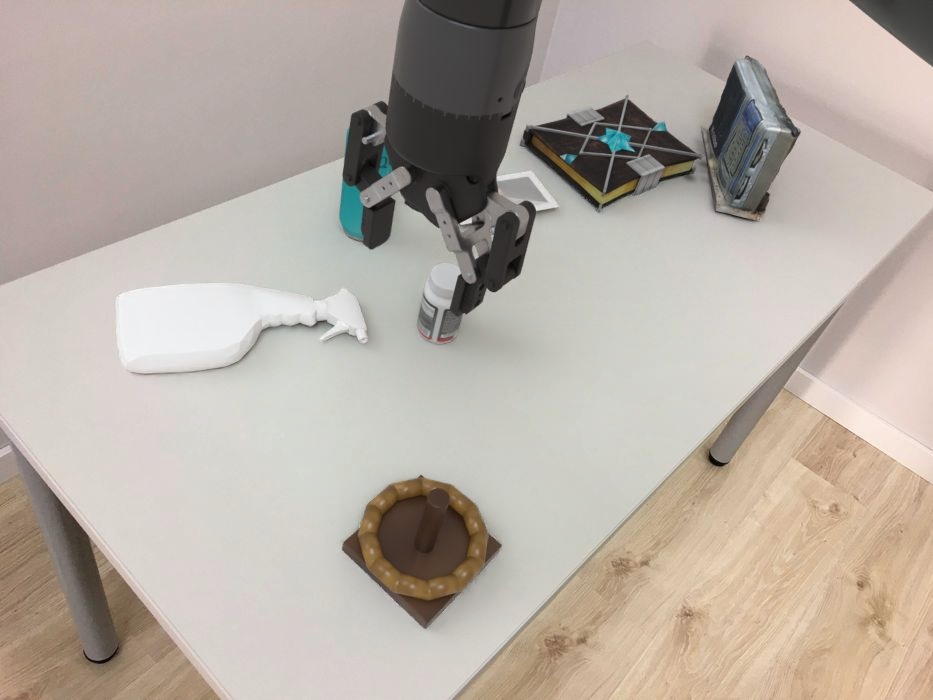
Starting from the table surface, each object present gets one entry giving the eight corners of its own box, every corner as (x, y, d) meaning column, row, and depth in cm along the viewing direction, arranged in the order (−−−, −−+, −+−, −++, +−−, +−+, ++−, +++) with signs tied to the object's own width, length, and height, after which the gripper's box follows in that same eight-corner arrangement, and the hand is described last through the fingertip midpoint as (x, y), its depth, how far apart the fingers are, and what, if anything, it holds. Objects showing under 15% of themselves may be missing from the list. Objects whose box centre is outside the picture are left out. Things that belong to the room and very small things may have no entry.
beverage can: (388, 245, 96) (404, 141, 85) (340, 245, 94) (350, 139, 83) (382, 214, 99) (396, 110, 88) (336, 213, 98) (345, 107, 87)
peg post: (498, 552, 72) (524, 500, 65) (425, 629, 66) (444, 581, 59) (418, 482, 75) (434, 425, 68) (341, 550, 69) (350, 495, 62)
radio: (700, 125, 128) (741, 39, 117) (751, 139, 128) (797, 55, 117) (699, 210, 113) (747, 120, 102) (758, 227, 113) (811, 139, 102)
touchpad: (433, 192, 104) (435, 179, 102) (529, 177, 110) (533, 164, 109) (459, 231, 100) (462, 218, 98) (557, 212, 106) (562, 200, 105)
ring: (509, 540, 71) (513, 531, 70) (428, 629, 65) (431, 621, 63) (417, 463, 75) (420, 454, 73) (331, 540, 68) (333, 531, 67)
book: (619, 113, 126) (629, 85, 122) (696, 174, 119) (710, 146, 115) (518, 145, 115) (526, 115, 111) (596, 214, 108) (607, 185, 104)
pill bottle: (460, 319, 90) (475, 266, 84) (454, 349, 87) (468, 296, 81) (420, 309, 90) (431, 255, 84) (412, 339, 87) (423, 285, 80)
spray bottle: (117, 302, 82) (349, 286, 90) (120, 385, 76) (370, 359, 84) (113, 282, 80) (352, 267, 88) (117, 365, 74) (374, 341, 82)
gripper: (323, 32, 45) (311, 243, 57) (515, 159, 41) (458, 359, 53) (413, 1, 49) (384, 203, 62) (594, 113, 45) (525, 307, 57)
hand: (418, 275), depth 57 cm, fingers open, 8 cm apart
